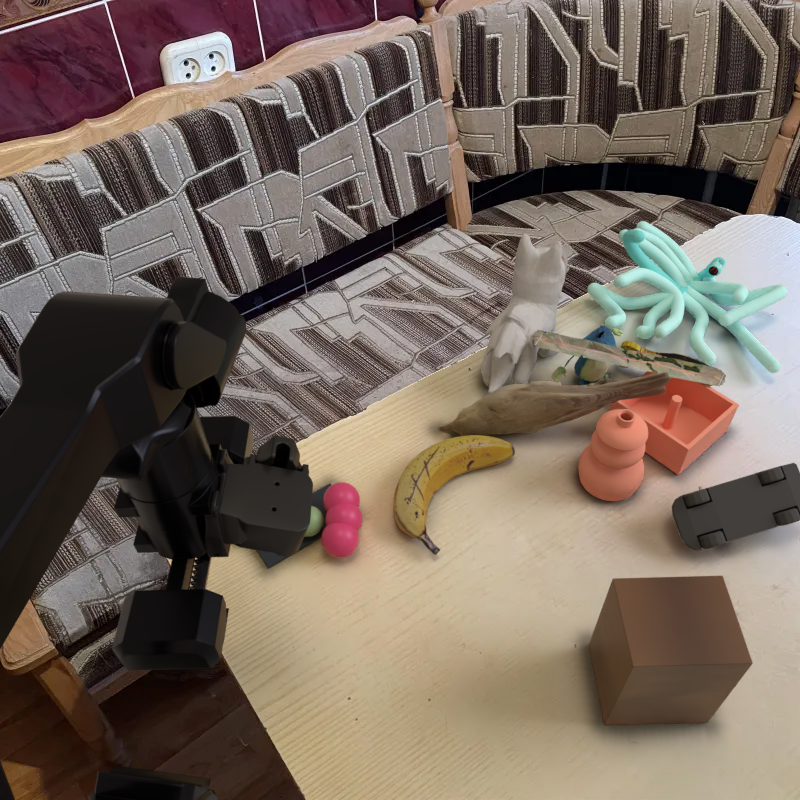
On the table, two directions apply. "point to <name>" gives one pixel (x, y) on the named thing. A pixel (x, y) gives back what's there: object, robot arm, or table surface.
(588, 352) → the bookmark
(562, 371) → the toy figurine
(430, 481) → the fruit
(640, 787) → the table surface
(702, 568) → the table surface
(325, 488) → the placemat
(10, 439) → the robot arm
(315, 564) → the table surface
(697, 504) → the toy car
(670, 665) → the block
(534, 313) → the toy
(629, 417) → the pottery
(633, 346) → the decorative item
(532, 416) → the sculpture
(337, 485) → the green pink knobbed rod
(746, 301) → the tentacled creature figurine
